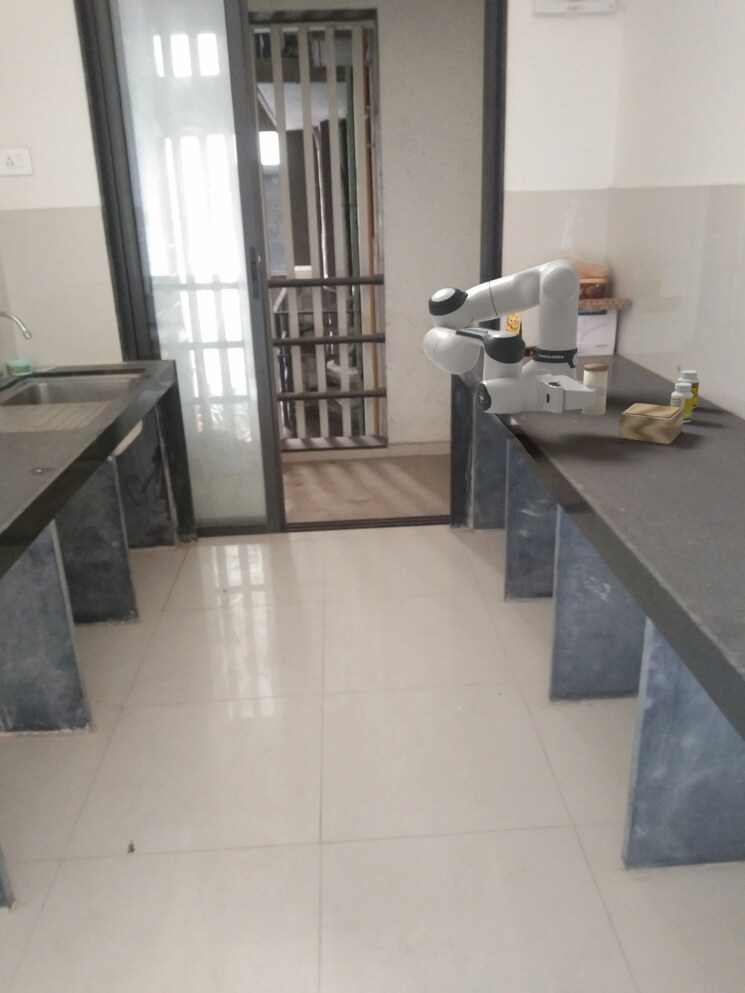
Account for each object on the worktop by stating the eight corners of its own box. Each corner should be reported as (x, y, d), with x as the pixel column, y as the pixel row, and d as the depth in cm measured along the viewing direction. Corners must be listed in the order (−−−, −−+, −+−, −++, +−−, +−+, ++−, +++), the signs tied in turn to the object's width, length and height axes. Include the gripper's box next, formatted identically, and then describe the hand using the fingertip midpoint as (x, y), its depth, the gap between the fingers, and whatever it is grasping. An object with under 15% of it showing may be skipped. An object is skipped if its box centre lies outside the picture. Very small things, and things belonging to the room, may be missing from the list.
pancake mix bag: (517, 348, 310) (519, 275, 300) (528, 356, 292) (530, 280, 282) (500, 348, 310) (502, 276, 300) (510, 357, 292) (512, 281, 282)
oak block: (618, 437, 191) (620, 412, 189) (633, 425, 200) (635, 402, 198) (668, 444, 184) (671, 418, 182) (681, 431, 194) (684, 407, 191)
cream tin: (578, 414, 192) (580, 366, 188) (586, 408, 196) (588, 362, 192) (601, 416, 189) (604, 368, 185) (608, 411, 193) (611, 364, 189)
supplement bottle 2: (690, 418, 204) (694, 382, 201) (691, 424, 200) (695, 386, 196) (668, 417, 206) (672, 381, 203) (668, 423, 201) (672, 385, 198)
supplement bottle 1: (687, 411, 211) (691, 374, 207) (670, 407, 215) (674, 371, 212) (700, 408, 214) (704, 371, 210) (683, 404, 218) (686, 368, 215)
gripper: (530, 395, 200) (581, 391, 201) (558, 415, 181) (615, 410, 182) (530, 371, 197) (582, 367, 199) (559, 388, 178) (616, 384, 180)
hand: (598, 388), depth 190 cm, fingers closed on cream tin, 6 cm apart
